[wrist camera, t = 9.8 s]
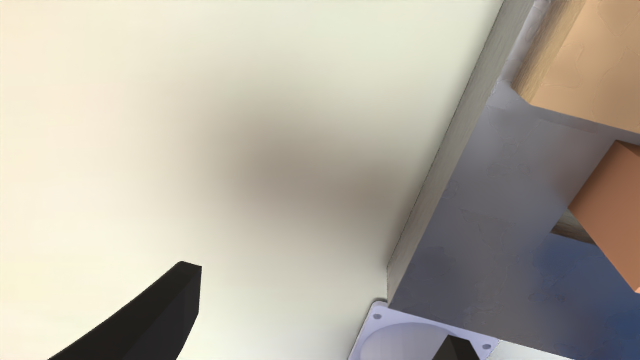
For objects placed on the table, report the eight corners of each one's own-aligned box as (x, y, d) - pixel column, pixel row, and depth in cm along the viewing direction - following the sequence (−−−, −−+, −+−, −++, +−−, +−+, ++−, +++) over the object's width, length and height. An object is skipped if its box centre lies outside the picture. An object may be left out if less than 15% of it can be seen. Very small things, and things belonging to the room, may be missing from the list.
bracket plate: (619, 331, 21) (680, 422, 17) (386, 267, 21) (388, 342, 17) (969, -8, 12) (1298, 3, 8) (554, -115, 12) (649, -162, 8)
